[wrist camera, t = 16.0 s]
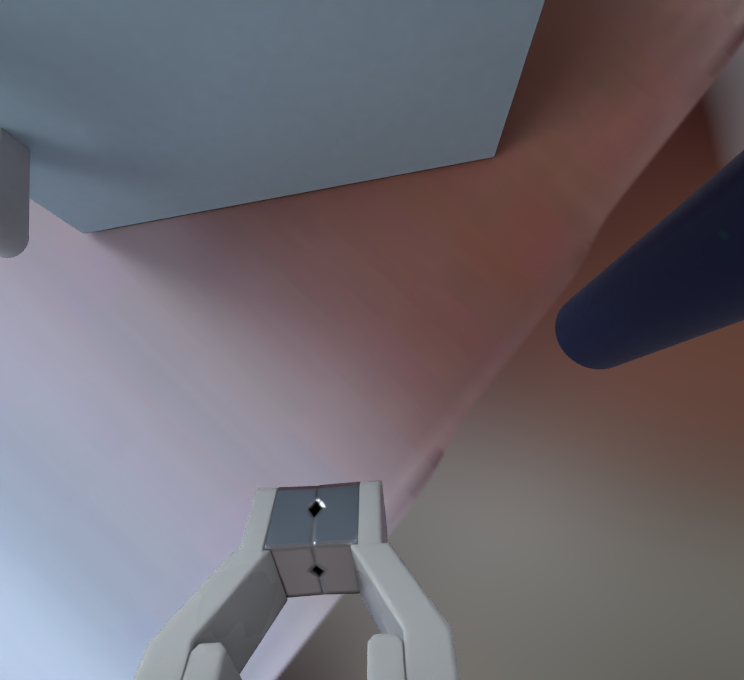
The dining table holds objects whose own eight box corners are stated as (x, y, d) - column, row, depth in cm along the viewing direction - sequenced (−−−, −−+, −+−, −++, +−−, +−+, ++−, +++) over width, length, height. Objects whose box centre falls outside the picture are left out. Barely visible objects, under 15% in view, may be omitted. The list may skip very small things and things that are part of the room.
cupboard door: (515, 235, 26) (1426, -1427, 3) (84, 314, 27) (-2003, -543, 4) (490, 143, 27) (963, -1440, 4) (82, 219, 28) (-1389, -817, 5)
